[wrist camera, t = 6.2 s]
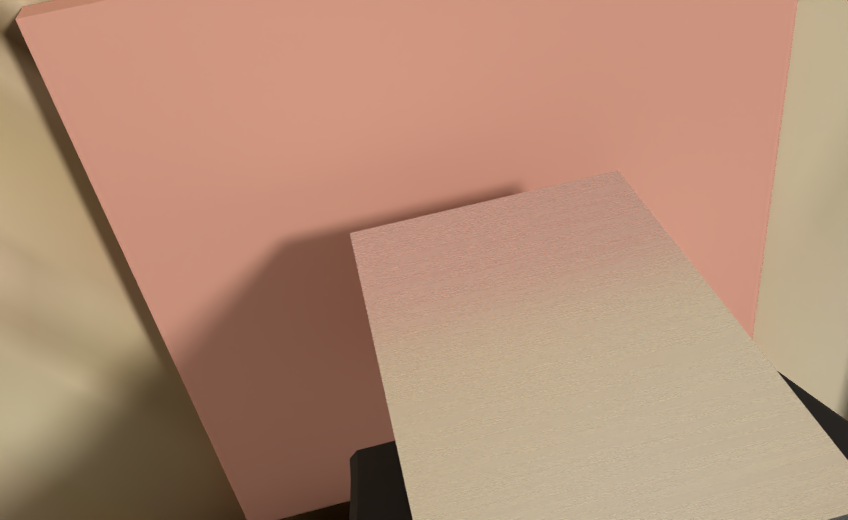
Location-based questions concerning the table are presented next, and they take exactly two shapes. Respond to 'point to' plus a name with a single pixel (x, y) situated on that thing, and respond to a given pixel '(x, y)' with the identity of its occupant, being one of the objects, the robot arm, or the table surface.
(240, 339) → the mat
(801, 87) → the table surface
